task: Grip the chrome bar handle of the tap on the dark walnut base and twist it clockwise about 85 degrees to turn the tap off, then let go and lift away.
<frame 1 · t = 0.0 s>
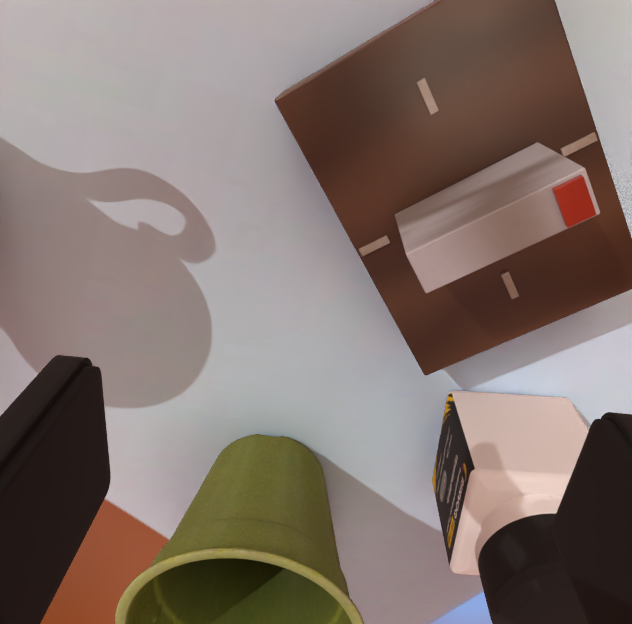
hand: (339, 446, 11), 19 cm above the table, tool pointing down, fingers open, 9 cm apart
medicine bottle: (496, 437, 34), on the table
tap handle: (485, 214, 22), point 6 cm above the table, hinge at 90.0°
plant pot: (268, 471, 36), on the table
tap base: (456, 178, 27), on the table
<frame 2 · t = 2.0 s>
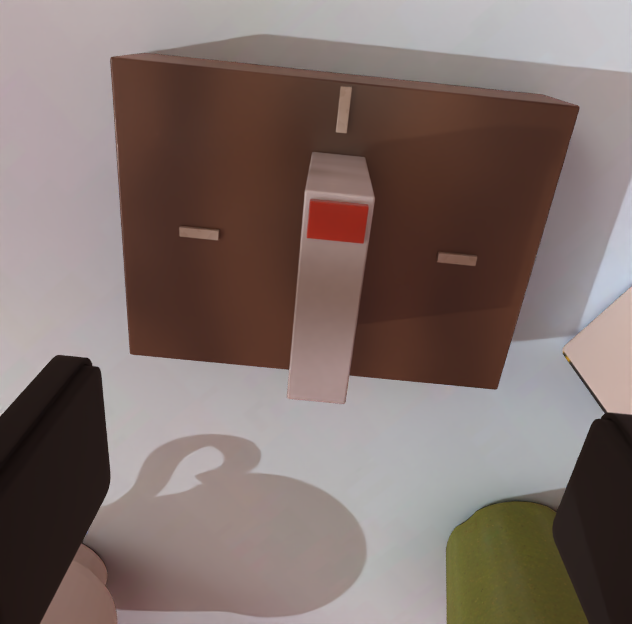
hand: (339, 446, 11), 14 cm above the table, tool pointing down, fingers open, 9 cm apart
teacup: (56, 548, 33), on the table
tap handle: (327, 274, 18), point 6 cm above the table, hinge at 90.0°
plant pot: (505, 540, 32), on the table
tap base: (329, 216, 23), on the table
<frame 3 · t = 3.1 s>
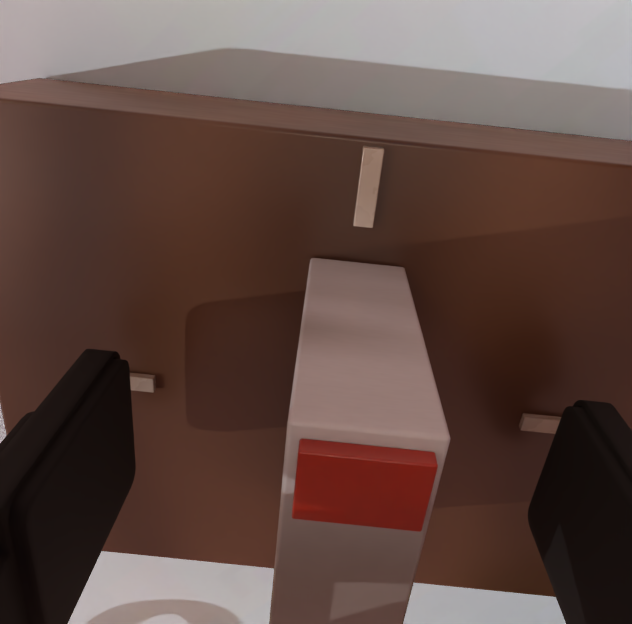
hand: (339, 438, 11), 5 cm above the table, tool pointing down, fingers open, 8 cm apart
tap handle: (337, 491, 10), point 6 cm above the table, hinge at 90.0°
tap base: (339, 324, 15), on the table
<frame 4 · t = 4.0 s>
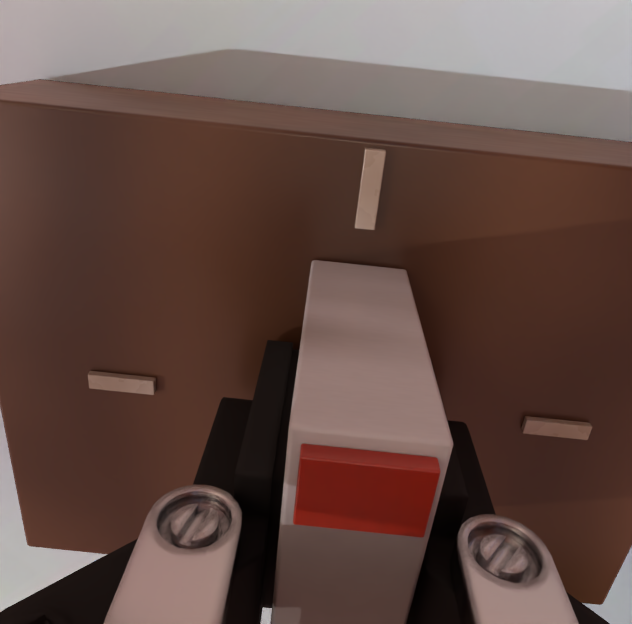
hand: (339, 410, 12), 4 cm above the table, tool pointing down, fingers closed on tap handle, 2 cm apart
tap handle: (339, 495, 10), point 6 cm above the table, hinge at 90.0°, touching gripper
tap base: (340, 326, 15), on the table
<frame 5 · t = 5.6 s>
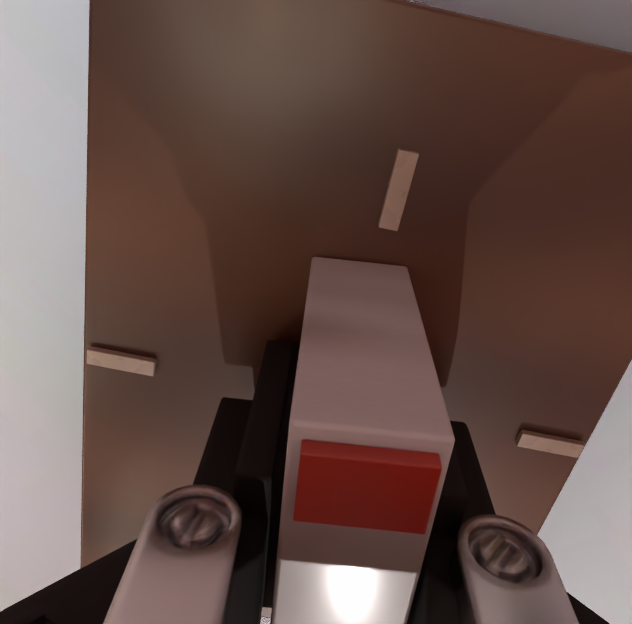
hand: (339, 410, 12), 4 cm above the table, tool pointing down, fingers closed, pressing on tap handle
tap handle: (339, 493, 9), point 6 cm above the table, hinge at 5.9°, touching gripper
tap base: (340, 324, 15), on the table
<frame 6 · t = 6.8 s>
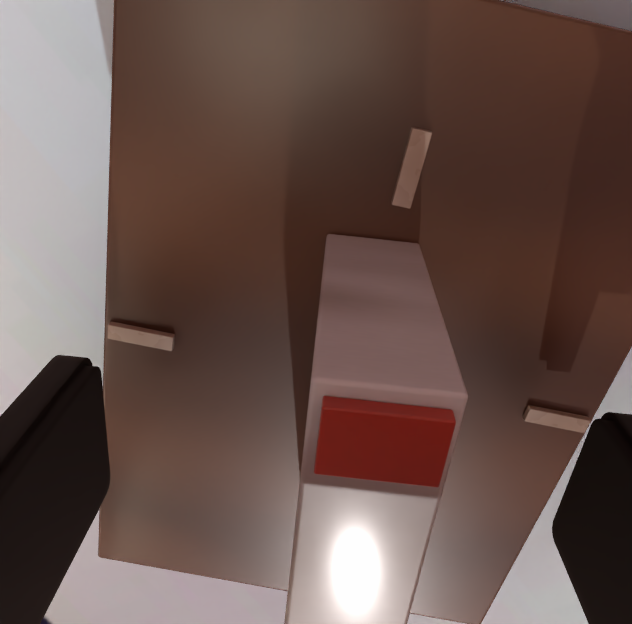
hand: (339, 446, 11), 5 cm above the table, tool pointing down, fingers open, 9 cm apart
tap handle: (353, 460, 10), point 6 cm above the table, hinge at 6.0°
tap base: (351, 305, 15), on the table
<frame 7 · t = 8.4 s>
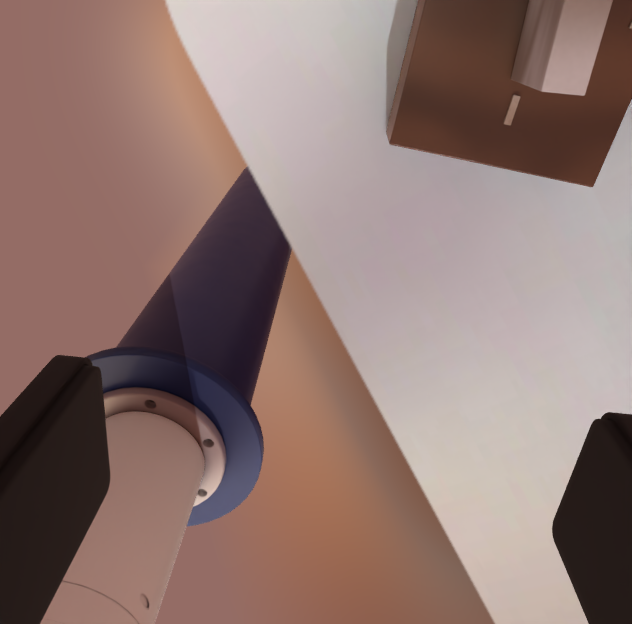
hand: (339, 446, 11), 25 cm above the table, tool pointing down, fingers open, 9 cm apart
tap handle: (567, 3, 23), point 6 cm above the table, hinge at 6.0°
tap base: (526, 6, 29), on the table
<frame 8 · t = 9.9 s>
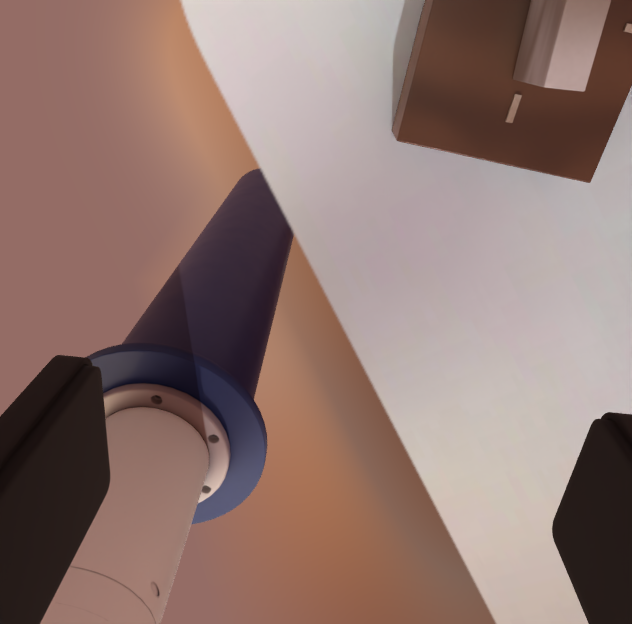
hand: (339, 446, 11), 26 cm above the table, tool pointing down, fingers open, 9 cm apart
tap handle: (566, 6, 25), point 6 cm above the table, hinge at 6.0°
tap base: (525, 11, 30), on the table
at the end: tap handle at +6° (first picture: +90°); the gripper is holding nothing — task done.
